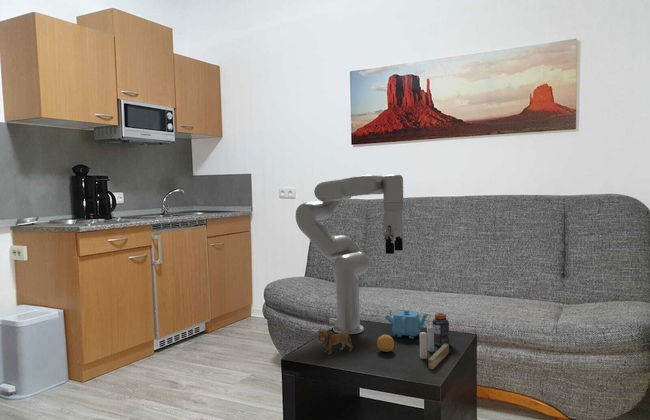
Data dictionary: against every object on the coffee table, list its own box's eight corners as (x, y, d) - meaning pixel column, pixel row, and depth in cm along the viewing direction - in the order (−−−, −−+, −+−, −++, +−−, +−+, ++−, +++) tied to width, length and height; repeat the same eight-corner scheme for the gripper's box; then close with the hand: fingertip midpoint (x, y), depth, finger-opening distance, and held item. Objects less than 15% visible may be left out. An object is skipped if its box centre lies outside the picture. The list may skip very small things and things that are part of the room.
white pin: (418, 358, 162) (418, 333, 162) (421, 356, 164) (420, 331, 164) (425, 359, 161) (425, 334, 161) (428, 357, 163) (427, 332, 163)
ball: (374, 352, 169) (374, 336, 168) (381, 347, 174) (381, 331, 174) (390, 355, 166) (389, 338, 165) (396, 350, 171) (396, 333, 171)
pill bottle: (448, 341, 179) (447, 311, 179) (450, 346, 173) (450, 315, 173) (431, 341, 180) (431, 311, 180) (433, 346, 174) (433, 315, 174)
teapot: (380, 337, 186) (380, 312, 185) (390, 328, 199) (389, 304, 198) (427, 342, 179) (426, 316, 178) (433, 332, 192) (433, 307, 191)
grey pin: (426, 351, 169) (426, 327, 169) (428, 349, 171) (428, 325, 171) (433, 352, 168) (432, 328, 168) (435, 350, 170) (434, 326, 170)
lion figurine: (320, 357, 165) (319, 332, 165) (314, 353, 170) (313, 328, 170) (357, 350, 171) (356, 326, 171) (350, 346, 176) (349, 322, 176)
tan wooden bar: (428, 368, 152) (428, 359, 152) (444, 351, 168) (444, 343, 168) (433, 369, 152) (432, 360, 152) (449, 352, 167) (448, 344, 167)
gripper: (392, 206, 190) (392, 249, 191) (375, 208, 175) (376, 254, 175) (410, 206, 186) (410, 249, 187) (395, 208, 171) (396, 255, 172)
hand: (394, 252), depth 181 cm, fingers open, 9 cm apart
